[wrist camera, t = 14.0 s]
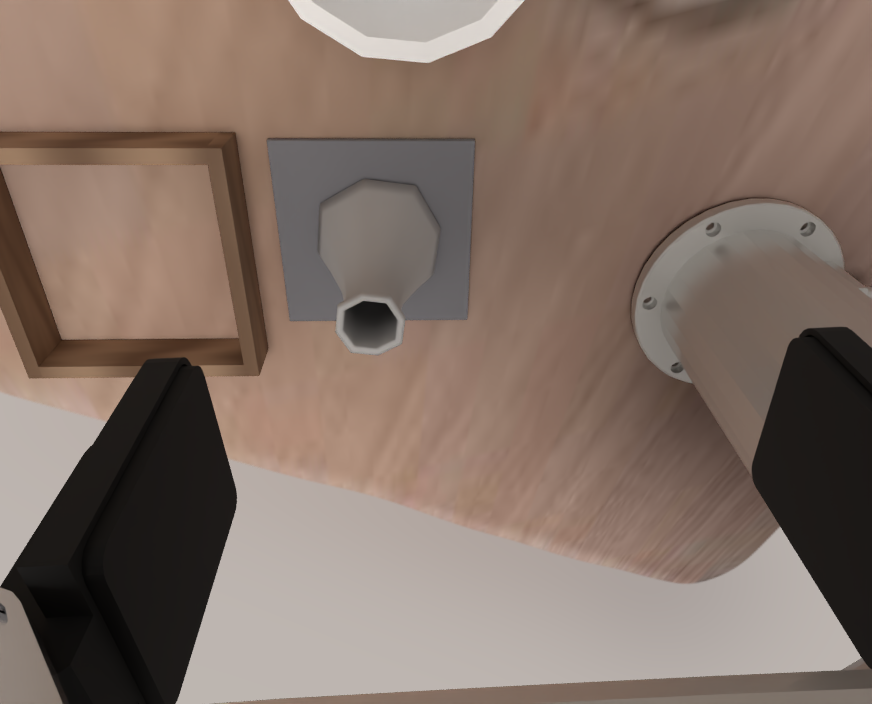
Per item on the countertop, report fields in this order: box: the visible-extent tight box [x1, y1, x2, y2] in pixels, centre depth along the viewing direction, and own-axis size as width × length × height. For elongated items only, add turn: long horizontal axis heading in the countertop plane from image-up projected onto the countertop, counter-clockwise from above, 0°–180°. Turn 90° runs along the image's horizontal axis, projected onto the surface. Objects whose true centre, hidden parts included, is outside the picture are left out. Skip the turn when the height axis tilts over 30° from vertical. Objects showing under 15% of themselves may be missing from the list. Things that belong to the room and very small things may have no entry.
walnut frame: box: [0, 132, 268, 378], centre depth 37 cm, size 14×14×3 cm
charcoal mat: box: [267, 138, 475, 321], centre depth 38 cm, size 11×11×1 cm
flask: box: [317, 179, 441, 355], centre depth 33 cm, size 7×7×10 cm
